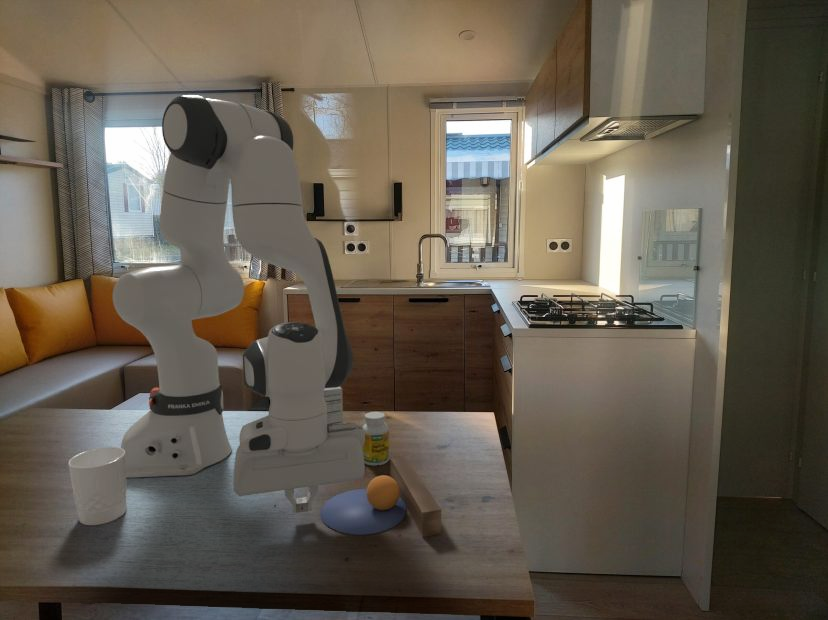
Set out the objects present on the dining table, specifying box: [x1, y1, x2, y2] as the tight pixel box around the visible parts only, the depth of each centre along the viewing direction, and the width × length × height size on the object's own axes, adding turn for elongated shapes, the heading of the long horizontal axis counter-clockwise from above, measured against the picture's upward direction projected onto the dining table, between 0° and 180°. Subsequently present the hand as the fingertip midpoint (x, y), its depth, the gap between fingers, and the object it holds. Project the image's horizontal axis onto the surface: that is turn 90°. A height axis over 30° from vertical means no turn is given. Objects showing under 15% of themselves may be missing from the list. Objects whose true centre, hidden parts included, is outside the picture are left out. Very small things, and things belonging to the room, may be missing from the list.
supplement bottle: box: [361, 411, 390, 467], centre depth 106 cm, size 5×5×10 cm
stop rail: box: [389, 455, 442, 538], centre depth 90 cm, size 3×20×4 cm, turn 17°
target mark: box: [320, 488, 407, 536], centre depth 88 cm, size 14×14×1 cm
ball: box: [366, 474, 400, 510], centre depth 89 cm, size 6×6×6 cm
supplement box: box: [324, 386, 344, 425], centre depth 116 cm, size 7×7×13 cm
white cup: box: [67, 446, 128, 526], centre depth 87 cm, size 8×8×10 cm
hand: (301, 510), depth 85 cm, fingers closed
